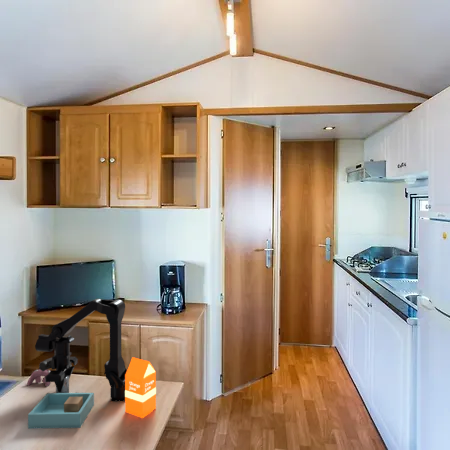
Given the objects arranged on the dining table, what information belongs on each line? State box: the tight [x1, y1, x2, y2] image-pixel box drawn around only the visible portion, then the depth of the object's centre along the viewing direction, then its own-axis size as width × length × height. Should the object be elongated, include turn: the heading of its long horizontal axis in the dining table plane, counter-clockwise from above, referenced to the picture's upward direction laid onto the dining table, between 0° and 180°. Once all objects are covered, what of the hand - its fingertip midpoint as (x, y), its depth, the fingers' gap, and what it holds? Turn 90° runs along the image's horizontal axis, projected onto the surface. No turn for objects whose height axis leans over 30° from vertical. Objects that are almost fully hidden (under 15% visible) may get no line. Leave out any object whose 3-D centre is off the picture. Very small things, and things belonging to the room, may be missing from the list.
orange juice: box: [124, 356, 157, 419], centre depth 139 cm, size 8×9×20 cm
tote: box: [27, 392, 95, 429], centre depth 135 cm, size 18×15×5 cm
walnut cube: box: [64, 397, 83, 412], centre depth 135 cm, size 5×5×5 cm
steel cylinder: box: [55, 375, 70, 393], centre depth 152 cm, size 5×5×7 cm
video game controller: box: [27, 368, 52, 387], centre depth 161 cm, size 10×5×7 cm, turn 85°
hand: (62, 388), depth 152 cm, fingers closed on steel cylinder, 5 cm apart
